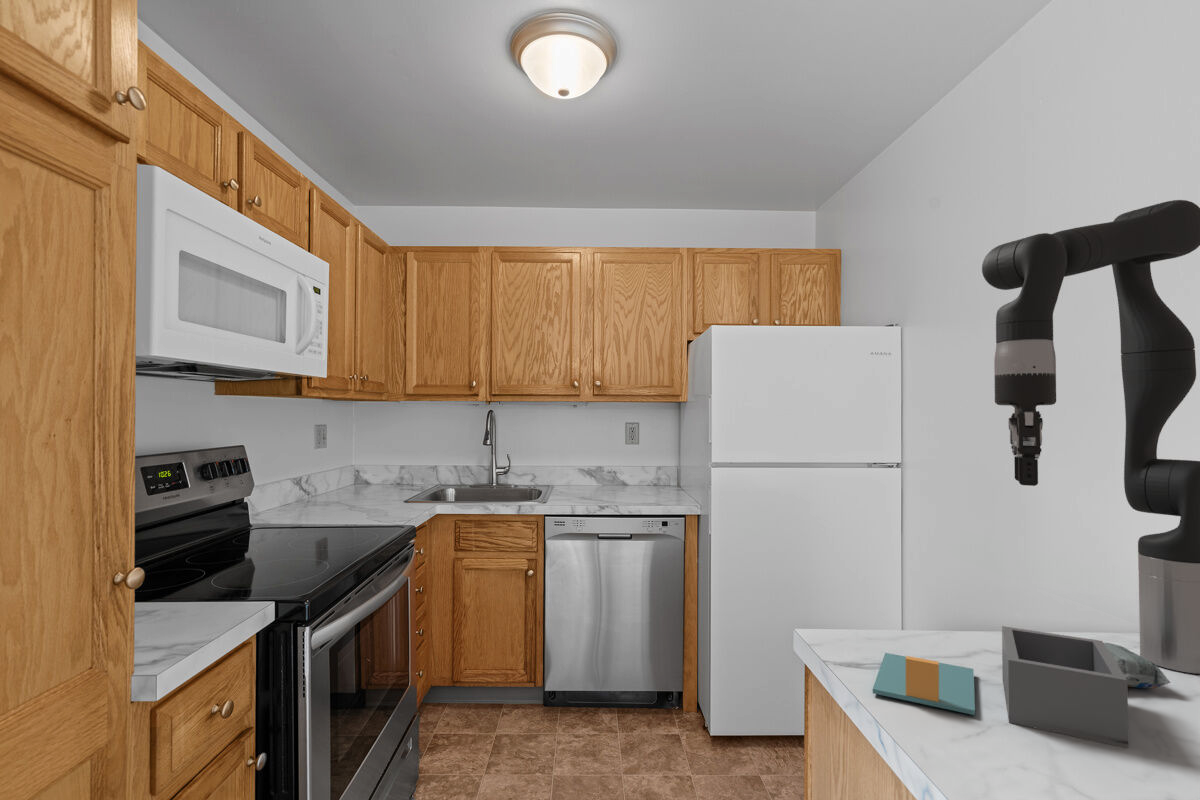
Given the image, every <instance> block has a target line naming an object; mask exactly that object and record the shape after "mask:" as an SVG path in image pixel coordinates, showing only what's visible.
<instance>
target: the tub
mask: <svg viewBox="0 0 1200 800" xmlns="http://www.w3.org/2000/svg"><path fill="white" fill-rule="evenodd" d="M1104 643H1105V642H1104V641H1103V640H1100V639H1099V640H1097V639H1091V638H1086V637H1085V638H1084V637H1078V636H1071V635H1065V634H1059V633H1057V634H1056V633H1052V632H1051V633H1050V632H1045V631H1036V630H1031V629H1025V628H1017V627H1010V626H1004V625H1002V626H1001V644H1002V645H1001V649H1002V650H1001V651H1002V653H1001V655H1002V656H1001V657H1002V658H1001V661H1002V664H1001V665H1002V668H1001V669H1002V670H1001V671H1002V672H1001V673H1002V684H1003V685H1004V686H1003V685H1002V686H1003V691H1004V692H1005V693H1004V698H1005V706H1006V711H1007V712H1006V714H1007V718H1008V723H1010V724H1013V723H1014V724H1015V725H1018V724H1019V726H1023V727H1028V726H1029V728H1032V727H1036V728H1035V729H1037V728H1039V730H1042V729H1044V730H1043V731H1046V730H1048V731H1047V732H1051V731H1053V732H1052V733H1056V732H1058V733H1057V734H1060V733H1061V735H1065V734H1066V735H1065V736H1071V737H1076V738H1080V739H1084V740H1089V741H1094V742H1098V743H1104V744H1108V745H1113V746H1117V747H1122V748H1125V749H1129V708H1128V705H1129V703H1128V702H1129V698H1128V697H1129V696H1128V694H1129V693H1128V691H1129V690H1128V687H1127V679H1126V677H1125V676H1124V674H1123V673H1122V671H1121V670H1120V668H1119V666H1118V665H1117V663H1116V662H1115V660H1114V659H1113V657H1112V656H1111V654H1110V652H1109V651H1108V649H1107V648H1106V646H1105V645H1104Z"/></svg>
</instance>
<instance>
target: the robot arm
mask: <svg viewBox="0 0 1200 800" xmlns="http://www.w3.org/2000/svg"><path fill="white" fill-rule="evenodd" d="M1199 247H1200V207H1199V205H1197V204H1196V203H1194V202H1192V201H1189V200H1186V199H1176V200H1175V199H1174V200H1167V201H1163V202H1159V203H1156V204H1152V205H1149V206H1144V207H1141V208H1137V209H1133V210H1130V211H1127V212H1124V213H1122V214H1120V215H1119V214H1118V216H1117V217H1115V218H1114V220H1113V221H1109V222H1103V223H1098V224H1097V223H1096V224H1092V225H1084V226H1078V227H1073V228H1069V229H1064V230H1060V231H1056V232H1052V233H1049V232H1045V233H1044V232H1043V233H1042V232H1041V233H1036V234H1033V235H1030V236H1026V237H1023V238H1020V239H1016V240H1013V241H1008V242H1006V243H1002V244H999V245H998V246H996V247H994V248H992V249H991V250H990V251H989V252H988V253H987V254H986V255H985V257H984V259H983V260H982V266H981V273H982V276H983V278H984V280H985V282H987V284H988V285H990V286H991V287H993V288H995V289H998V290H1003V291H1007V290H1009V291H1010V290H1014V289H1015V290H1016V289H1020V288H1021V290H1020V292H1019V295H1017V297H1015V299H1013V300H1012V301H1010V302H1007V303H1005V304H1004V305H1002V306H1001V307H999V308H998V310H997V312H996V318H995V343H996V344H995V352H994V358H993V359H994V361H993V362H994V365H993V366H994V368H993V371H994V403H995V404H996V405H997V406H1011V407H1013V408H1014V412H1012V414H1011V415H1010V416H1011V417H1008V421H1007V422H1008V430H1009V443H1010V445H1011V447H1010V448H1011V449H1012V451H1011V452H1012V454H1013V457H1014V460H1013V461H1014V480H1016V481H1017V482H1018V483H1019V485H1021V486H1033V487H1035V486H1038V484H1039V469H1038V468H1039V459H1040V457H1041V453H1042V448H1041V446H1042V443H1043V435H1042V431H1043V426H1044V425H1043V424H1044V423H1043V422H1044V421H1043V417H1042V414H1041V413H1040V411H1039V410H1037V407H1038V406H1052V405H1053V406H1054V405H1055V404H1056V403H1057V365H1056V364H1057V362H1056V361H1057V358H1056V356H1057V355H1056V351H1055V344H1054V312H1055V309H1056V308H1055V307H1056V305H1057V302H1058V298H1059V296H1060V295H1059V294H1060V291H1061V288H1062V284H1063V281H1064V279H1065V278H1066V277H1070V276H1076V275H1079V274H1082V273H1087V272H1090V271H1095V270H1097V269H1101V268H1105V267H1108V266H1111V268H1112V273H1113V280H1114V286H1115V291H1116V296H1117V305H1118V314H1119V315H1118V317H1119V329H1120V331H1119V333H1120V354H1121V355H1120V361H1121V362H1120V364H1121V376H1122V385H1123V388H1122V389H1123V396H1124V410H1125V411H1124V412H1125V415H1124V416H1125V438H1124V440H1125V441H1124V442H1125V444H1124V464H1123V465H1124V466H1123V468H1124V469H1123V484H1124V485H1123V486H1124V493H1125V498H1126V501H1127V503H1128V505H1129V506H1130V507H1131V508H1132V509H1133V510H1135V511H1137V512H1141V513H1147V514H1155V515H1166V516H1175V517H1179V518H1180V519H1179V523H1178V525H1177V527H1175V528H1174V529H1171V530H1168V531H1165V532H1160V533H1159V532H1158V533H1152V534H1145V535H1142V536H1140V537H1139V538H1138V541H1137V553H1138V554H1137V557H1138V558H1137V559H1138V560H1137V561H1138V569H1137V570H1138V602H1139V603H1138V610H1139V613H1138V614H1139V615H1138V617H1139V619H1138V620H1139V656H1141V657H1143V658H1145V659H1147V660H1149V661H1150V662H1152V663H1154V664H1155V665H1156V666H1157V667H1158V666H1159V667H1162V668H1165V669H1169V670H1173V671H1176V672H1177V671H1178V672H1183V673H1190V674H1198V675H1200V460H1191V459H1190V460H1187V459H1170V458H1169V459H1168V458H1158V457H1157V456H1158V451H1157V450H1158V443H1159V439H1160V438H1159V437H1160V435H1161V433H1162V430H1163V428H1164V427H1165V425H1166V423H1167V421H1168V420H1169V418H1170V417H1171V416H1172V414H1173V413H1175V412H1174V411H1176V409H1178V407H1179V406H1180V404H1181V403H1182V402H1183V401H1184V399H1185V398H1186V397H1187V396H1188V394H1189V392H1190V391H1191V389H1192V388H1193V386H1194V384H1195V381H1196V379H1197V366H1196V365H1197V364H1196V363H1197V362H1196V361H1197V359H1196V349H1195V348H1196V345H1195V340H1194V337H1193V335H1192V333H1191V332H1190V329H1188V328H1187V326H1186V324H1185V323H1184V322H1183V321H1182V320H1181V319H1180V318H1179V316H1177V315H1176V313H1174V311H1172V310H1171V308H1169V306H1168V305H1167V304H1166V303H1165V302H1164V301H1163V300H1162V298H1161V297H1160V296H1159V294H1158V292H1157V291H1156V287H1155V286H1154V281H1153V275H1152V271H1151V270H1152V269H1151V263H1154V262H1155V263H1156V262H1160V261H1165V260H1170V259H1171V260H1172V259H1176V258H1180V257H1183V256H1186V255H1188V254H1190V253H1192V252H1193V251H1196V249H1198V248H1199Z"/></svg>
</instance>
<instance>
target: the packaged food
mask: <svg viewBox="0 0 1200 800" xmlns="http://www.w3.org/2000/svg"><path fill="white" fill-rule="evenodd" d="M1103 643H1104V645H1105V646H1106V648H1107V649H1108V651H1109V652H1110V654H1111V656H1112V657H1113V659H1114V660H1115V662H1116V663H1117V665H1118V666H1119V668H1120V670H1121V671H1122V673H1123V674H1124V676H1125V677H1126V679H1127V688H1135V689H1157V688H1160V687H1161V686H1165V685H1168V684H1170V683H1171V681H1170V680H1169V678H1167V676H1166V675H1165V673H1164V672H1163V671H1162V670H1161V669H1160V668H1159V667H1158V665H1155V664H1154V663H1152V662H1150V661H1149V660H1147V659H1145V658H1143V657H1141V656H1140V654H1137V653H1135V652H1133V651H1131V650H1129V649H1128V648H1125V647H1123V646H1122V645H1118V644H1114V643H1111V642H1110V643H1109V642H1103Z"/></svg>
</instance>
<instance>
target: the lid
mask: <svg viewBox="0 0 1200 800" xmlns="http://www.w3.org/2000/svg"><path fill="white" fill-rule="evenodd" d="M872 694H876V695H880V696H883V697H884V696H885V697H887V698H894V699H898V700H902V701H907V702H912V703H917V704H921V705H926V706H931V707H934V708H935V707H936V708H939V709H940V708H941V709H945V710H950V711H954V712H958V713H964V714H969V715H972V716H976V704H975V701H976V700H975V676H974V668H971V667H965V666H960V665H959V666H958V665H954V664H949V663H943V662H939V661H936V660H931V659H925V658H922V657H921V658H920V657H913V656H908V655H900V654H896V653H888V652H885V653H884V656H883V657H882V661H881V664H880V667H879V670H878V671H877V675H876V678H875V681H874V684H873V687H872Z"/></svg>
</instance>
